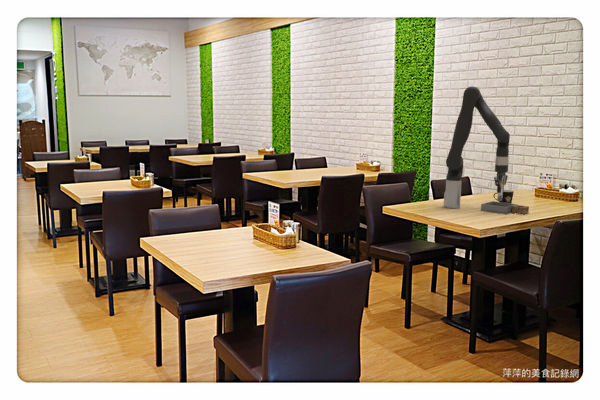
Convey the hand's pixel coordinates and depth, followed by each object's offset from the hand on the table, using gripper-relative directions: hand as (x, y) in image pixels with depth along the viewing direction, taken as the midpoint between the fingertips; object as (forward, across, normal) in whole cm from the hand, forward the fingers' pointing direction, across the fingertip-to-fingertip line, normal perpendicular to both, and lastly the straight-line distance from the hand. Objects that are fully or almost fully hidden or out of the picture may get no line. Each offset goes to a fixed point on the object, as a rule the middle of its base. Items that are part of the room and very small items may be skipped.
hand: (500, 192), depth 332 cm
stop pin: (+5, 0, 0) cm, 5 cm away
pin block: (+11, -2, +12) cm, 17 cm away
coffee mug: (+12, -16, -5) cm, 21 cm away
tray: (+11, 0, 0) cm, 11 cm away
